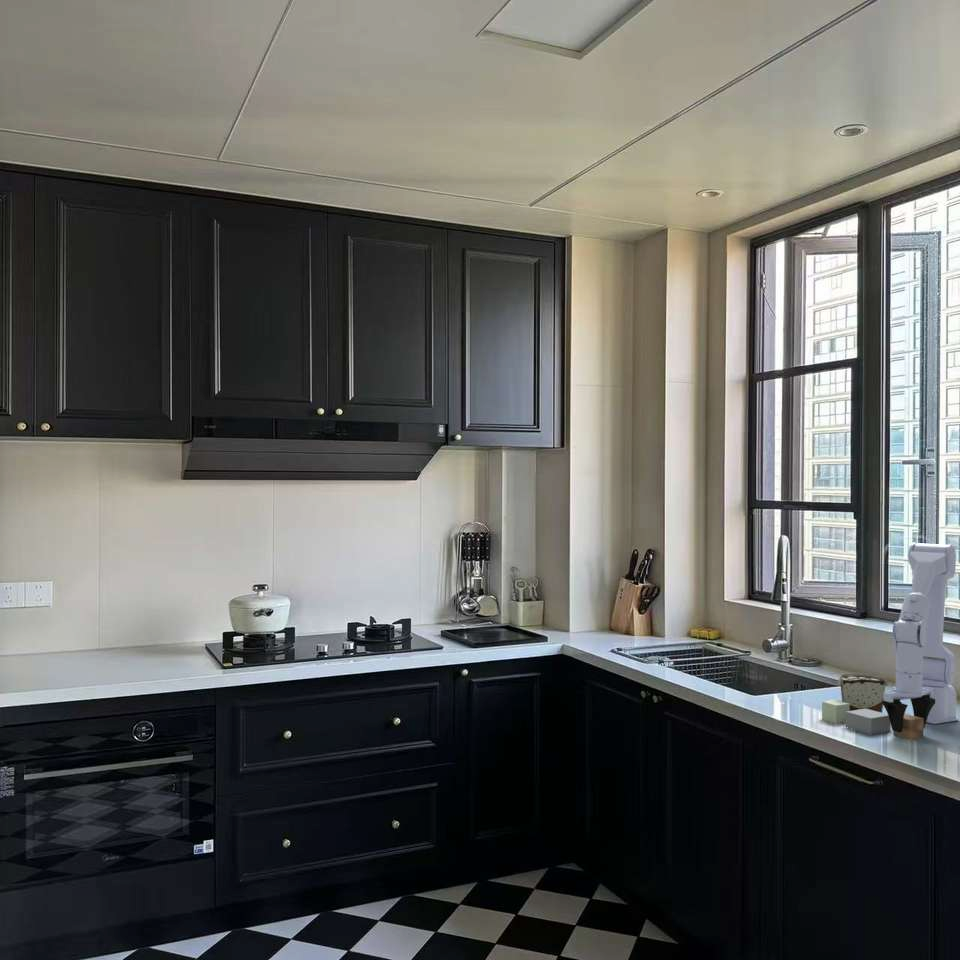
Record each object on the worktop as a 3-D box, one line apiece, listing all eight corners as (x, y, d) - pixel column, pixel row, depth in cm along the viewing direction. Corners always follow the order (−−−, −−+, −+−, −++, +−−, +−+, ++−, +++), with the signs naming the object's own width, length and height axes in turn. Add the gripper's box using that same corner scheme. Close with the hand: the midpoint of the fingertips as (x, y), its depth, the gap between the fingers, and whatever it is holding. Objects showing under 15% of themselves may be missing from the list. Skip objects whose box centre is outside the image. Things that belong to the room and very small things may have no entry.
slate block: (865, 724, 223) (865, 708, 223) (890, 731, 217) (890, 715, 217) (846, 728, 220) (846, 711, 220) (871, 735, 214) (871, 718, 214)
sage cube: (835, 717, 229) (835, 699, 229) (849, 721, 225) (849, 703, 225) (821, 719, 227) (822, 701, 227) (836, 723, 223) (836, 705, 223)
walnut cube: (906, 732, 216) (906, 713, 216) (923, 737, 212) (923, 718, 212) (893, 734, 214) (893, 715, 214) (909, 739, 210) (910, 720, 210)
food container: (876, 711, 235) (876, 672, 235) (887, 717, 229) (888, 677, 229) (829, 711, 235) (829, 672, 235) (839, 717, 229) (839, 677, 229)
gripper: (915, 665, 220) (915, 722, 220) (872, 670, 213) (872, 728, 213) (941, 671, 213) (941, 729, 213) (898, 676, 207) (897, 736, 207)
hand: (908, 729), depth 213 cm, fingers open, 7 cm apart
